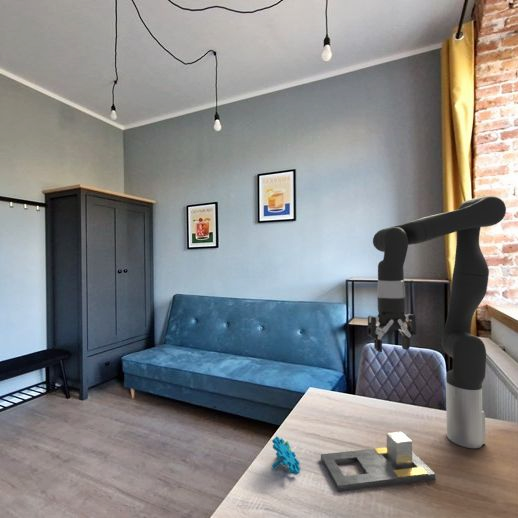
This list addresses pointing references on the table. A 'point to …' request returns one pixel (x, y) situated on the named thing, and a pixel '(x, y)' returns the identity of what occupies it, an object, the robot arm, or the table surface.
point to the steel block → (399, 450)
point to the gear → (285, 455)
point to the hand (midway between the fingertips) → (392, 350)
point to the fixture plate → (373, 470)
